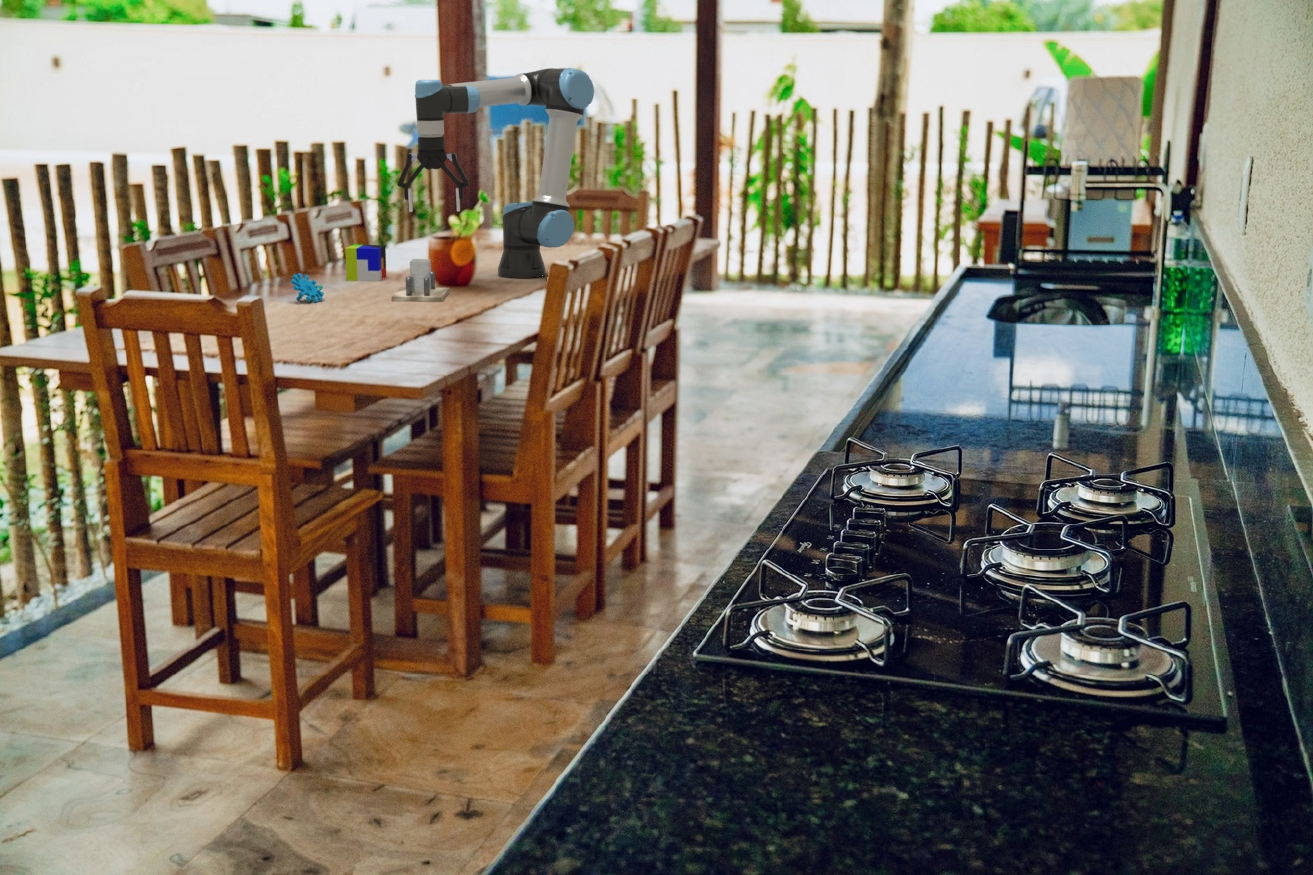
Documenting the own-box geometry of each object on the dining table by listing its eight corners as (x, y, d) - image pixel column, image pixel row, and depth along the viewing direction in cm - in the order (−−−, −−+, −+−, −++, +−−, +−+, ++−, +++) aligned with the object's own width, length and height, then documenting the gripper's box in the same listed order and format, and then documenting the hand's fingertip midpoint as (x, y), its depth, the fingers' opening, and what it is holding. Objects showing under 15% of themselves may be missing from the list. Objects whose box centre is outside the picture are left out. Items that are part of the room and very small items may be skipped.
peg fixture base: (449, 291, 386) (448, 270, 385) (442, 301, 369) (441, 279, 367) (401, 291, 386) (400, 270, 384) (391, 300, 368) (390, 278, 367)
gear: (305, 299, 358) (287, 271, 360) (293, 313, 360) (275, 285, 363) (334, 299, 367) (316, 272, 370) (322, 313, 370) (305, 285, 372)
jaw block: (431, 290, 380) (430, 259, 378) (428, 294, 374) (427, 262, 371) (413, 290, 380) (412, 258, 378) (410, 293, 373) (409, 262, 371)
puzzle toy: (379, 281, 403) (378, 249, 401) (346, 281, 403) (345, 248, 401) (386, 277, 413) (385, 245, 410) (354, 276, 413) (353, 244, 411)
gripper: (476, 134, 380) (479, 209, 386) (388, 135, 378) (392, 210, 384) (474, 136, 373) (477, 212, 379) (384, 137, 371) (389, 213, 377)
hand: (434, 211), depth 381 cm, fingers open, 13 cm apart
